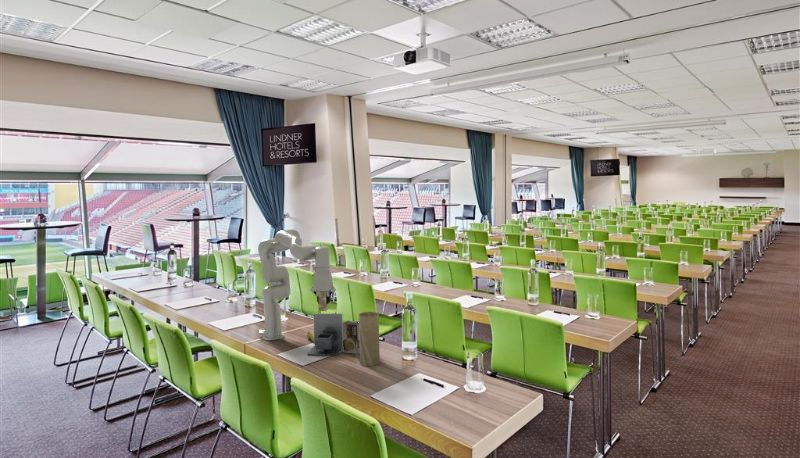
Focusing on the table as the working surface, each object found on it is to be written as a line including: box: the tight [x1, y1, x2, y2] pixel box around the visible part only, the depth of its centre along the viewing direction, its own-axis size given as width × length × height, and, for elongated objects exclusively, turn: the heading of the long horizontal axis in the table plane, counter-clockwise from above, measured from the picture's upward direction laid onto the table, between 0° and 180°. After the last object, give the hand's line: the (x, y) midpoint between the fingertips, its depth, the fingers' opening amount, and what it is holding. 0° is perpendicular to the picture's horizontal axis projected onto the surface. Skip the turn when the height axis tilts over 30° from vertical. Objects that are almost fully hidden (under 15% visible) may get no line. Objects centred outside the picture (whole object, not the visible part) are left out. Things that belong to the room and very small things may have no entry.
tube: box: [358, 311, 381, 367], centre depth 243 cm, size 10×10×25 cm
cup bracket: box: [306, 312, 344, 357], centre depth 261 cm, size 16×16×19 cm
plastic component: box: [306, 330, 314, 343], centre depth 285 cm, size 20×7×10 cm
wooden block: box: [318, 291, 329, 312], centre depth 258 cm, size 4×4×14 cm
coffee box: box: [342, 320, 360, 355], centre depth 260 cm, size 9×6×16 cm
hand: (323, 303), depth 258 cm, fingers closed on wooden block, 4 cm apart
